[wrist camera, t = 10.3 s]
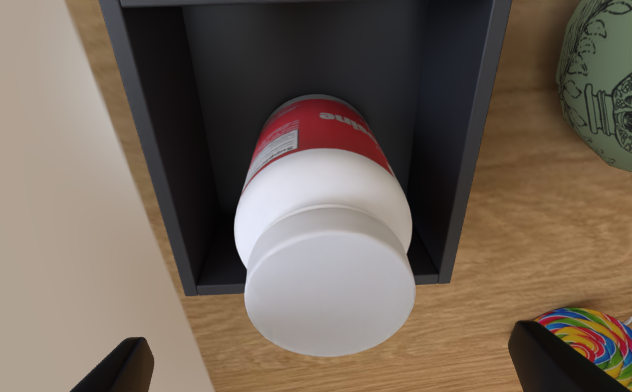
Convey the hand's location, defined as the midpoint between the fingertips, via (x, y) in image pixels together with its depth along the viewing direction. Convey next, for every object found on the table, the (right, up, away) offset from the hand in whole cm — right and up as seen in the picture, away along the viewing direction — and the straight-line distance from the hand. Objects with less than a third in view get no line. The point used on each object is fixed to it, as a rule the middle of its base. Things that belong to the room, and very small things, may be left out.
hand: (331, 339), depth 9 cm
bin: (-1, +8, +10) cm, 13 cm away
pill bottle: (0, +6, +11) cm, 12 cm away
